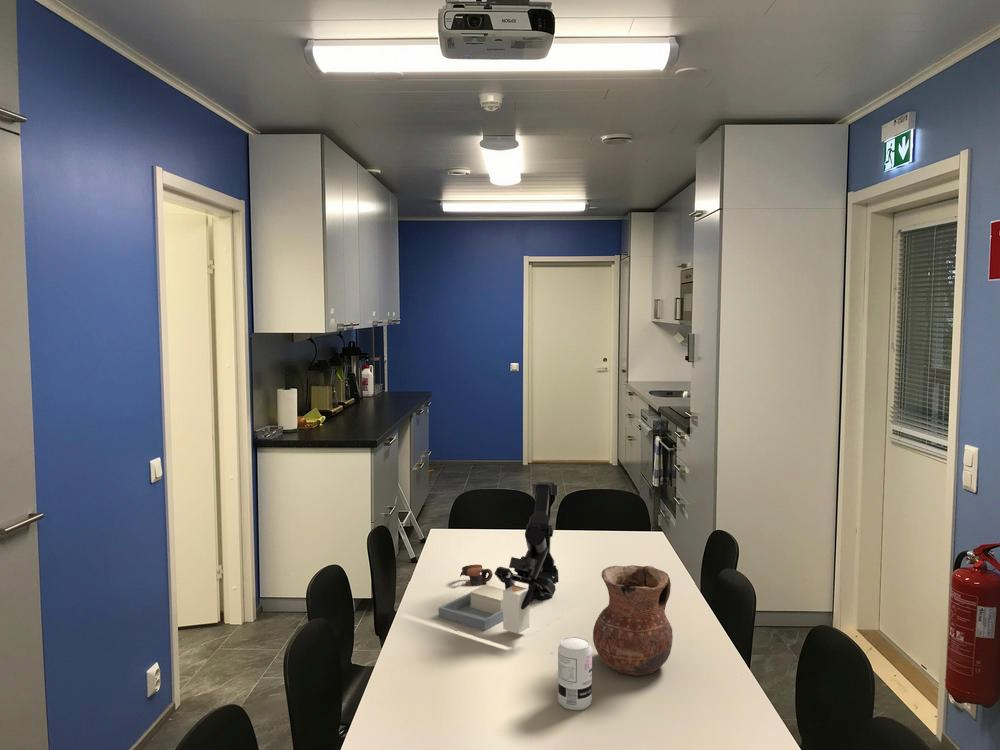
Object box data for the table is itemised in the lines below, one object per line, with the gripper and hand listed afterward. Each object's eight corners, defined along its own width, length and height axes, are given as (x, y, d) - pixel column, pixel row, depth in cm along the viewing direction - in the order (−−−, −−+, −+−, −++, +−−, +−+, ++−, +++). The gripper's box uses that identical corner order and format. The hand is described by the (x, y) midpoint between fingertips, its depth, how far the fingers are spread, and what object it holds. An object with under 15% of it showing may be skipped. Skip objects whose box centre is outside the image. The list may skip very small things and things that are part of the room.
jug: (655, 691, 186) (656, 593, 185) (579, 670, 198) (579, 578, 196) (683, 657, 205) (684, 568, 203) (613, 640, 216) (613, 556, 215)
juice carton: (514, 622, 222) (513, 582, 221) (529, 627, 219) (529, 586, 218) (503, 629, 218) (502, 588, 217) (518, 633, 214) (518, 592, 213)
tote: (482, 598, 249) (482, 587, 249) (526, 610, 238) (526, 598, 238) (438, 620, 231) (438, 607, 231) (484, 634, 221) (484, 621, 220)
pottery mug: (457, 590, 258) (455, 566, 262) (467, 593, 266) (465, 570, 270) (490, 584, 255) (487, 560, 259) (499, 588, 264) (496, 564, 267)
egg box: (485, 599, 246) (485, 584, 245) (515, 607, 239) (515, 592, 238) (470, 607, 239) (470, 591, 239) (500, 615, 232) (500, 600, 232)
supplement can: (555, 695, 185) (555, 636, 184) (588, 693, 185) (588, 635, 184) (560, 712, 177) (560, 651, 176) (595, 710, 177) (595, 649, 176)
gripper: (497, 540, 225) (475, 586, 217) (550, 551, 214) (529, 600, 206) (512, 558, 232) (492, 604, 224) (564, 570, 221) (544, 618, 213)
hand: (513, 606), depth 216 cm, fingers closed on juice carton, 5 cm apart
